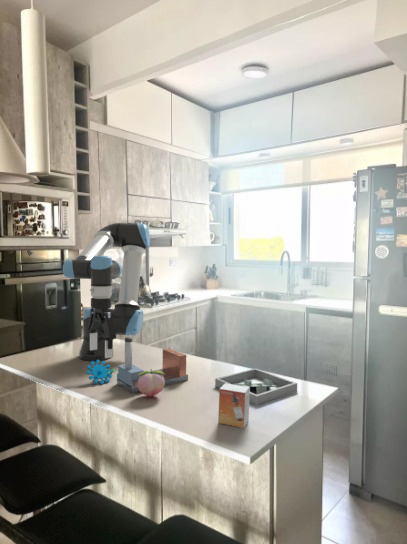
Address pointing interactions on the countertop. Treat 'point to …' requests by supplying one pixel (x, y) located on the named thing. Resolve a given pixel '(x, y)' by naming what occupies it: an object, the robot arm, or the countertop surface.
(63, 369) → the countertop surface
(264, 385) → the metal bracket
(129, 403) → the countertop surface
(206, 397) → the countertop surface
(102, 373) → the gear
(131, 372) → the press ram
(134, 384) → the frame
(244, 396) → the small box
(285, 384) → the parts tray
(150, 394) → the decorative fruit
